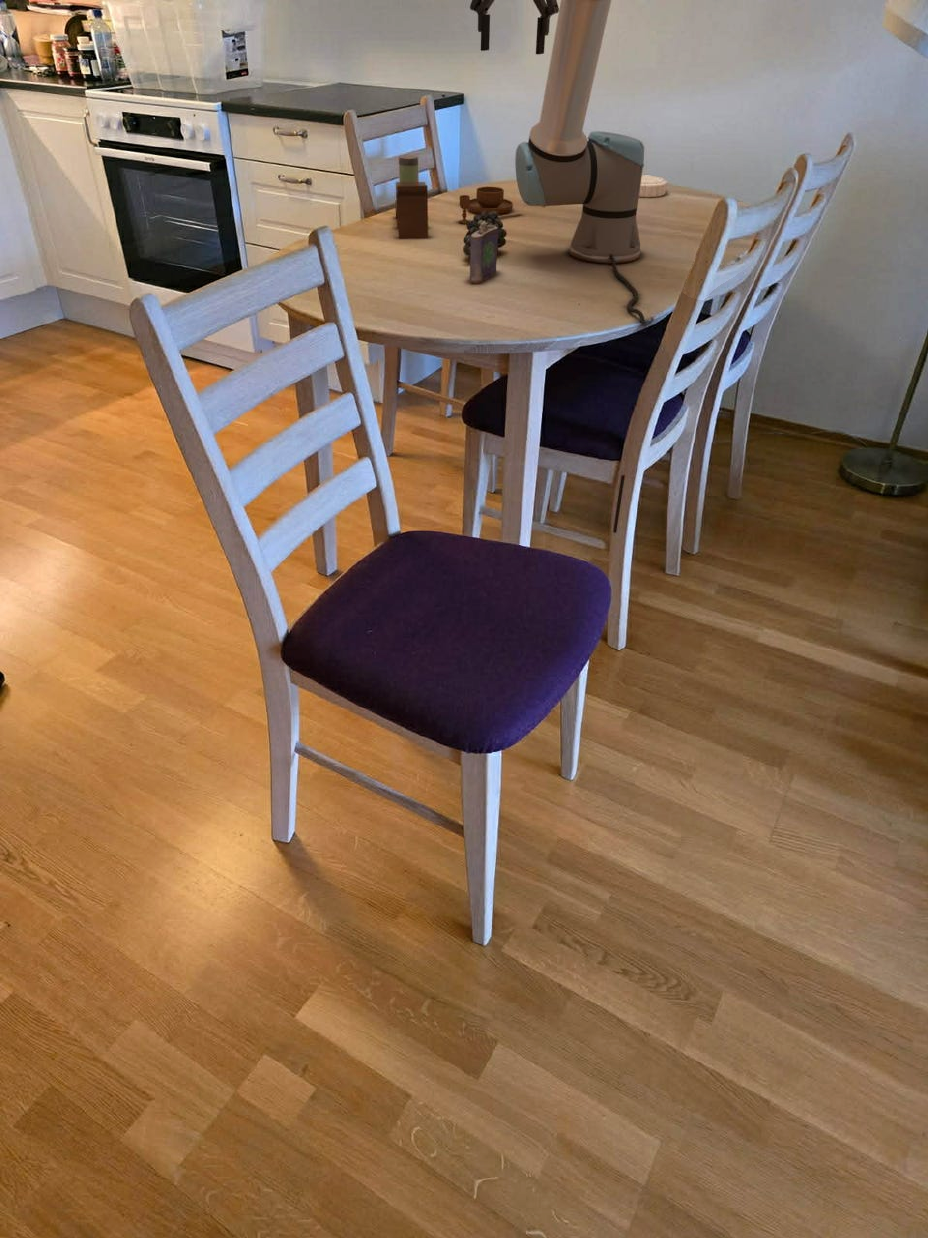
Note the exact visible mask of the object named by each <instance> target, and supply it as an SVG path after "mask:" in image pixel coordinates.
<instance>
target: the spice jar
mask: <svg viewBox="0 0 928 1238" xmlns="http://www.w3.org/2000/svg"><path fill="white" fill-rule="evenodd" d="M397 158H398V159H397V160H398V178H399V179H398V180H399V181H398V182H420V181H419V178H420V177H419V156H418V155H415V154H402V155H398V157H397Z"/></svg>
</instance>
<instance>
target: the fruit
mask: <svg viewBox="0 0 928 1238" xmlns="http://www.w3.org/2000/svg"><path fill="white" fill-rule="evenodd" d="M498 217H500V216H499V214H498V213H497V212H496V211H492V212H490V213H489V212H487V211H483V212H482V214H478V213H475V214H474V215H473V217H472V218H473V219H472V220H469V221H470V222H469V223H467V224H465V225H466V229H467V232H466V234H465V236H463V241H462V242H463V244H464V246H463V247H462V252H463V254H464V255H465V256H467V257H468V258H469V259H470V255H471V235H472V234H473V233H475V232H476V231H478V230H480V229H479V227H480V225H481V224H480V223H481V222H480V223H479V224H478V222H479V221H481V220H483V221H485V222H486V223H488V224H486V226H487V225H491V226H495V227H498V242H497V253H498V252H499V249H501V248H502V247H504V246H505V245H506V243H507V240H506V236H507V235H508V234H507V233H508V232H507V230H506V229H505V228H503V227H504V223H503V221H502V220H501V219H498ZM483 221H482V222H483Z"/></svg>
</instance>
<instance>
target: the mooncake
mask: <svg viewBox="0 0 928 1238" xmlns="http://www.w3.org/2000/svg"><path fill="white" fill-rule="evenodd" d="M667 186H668V181H667V180H666V179H665V178H663V177H660V176H659V177H658V176H655V175H647V174H645V175H644V174H642V177H641V185H640V192H639V198H659V197H662V196H664V195H666V193H667Z"/></svg>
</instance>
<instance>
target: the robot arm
mask: <svg viewBox="0 0 928 1238" xmlns="http://www.w3.org/2000/svg"><path fill="white" fill-rule="evenodd" d="M532 1H533V3H534V6H536V9H537V10H538V12H539V14H540V16H538V17H537V20H536V21H537V22H536V23H537V24H536V25H537V26H536V40H535V55H544V54H545V47H546V46H545V43H546V36H549V33H550V24H551V23H550V22H551V17H552V16H554V15H556V14H558V16H557V21H556V27H555V33H554V37H553V44H552V49H551V54H550V55H551V56H550V60H549V61H550V62H549V66H548V72H547V78H546V84H545V90H544V95H543V100H542V105H541V112H540V118H539V121H538V122H537V123H536V124H534V125H533V126H532V127H531V129H530V131H529V136H528V141H527V142H526V141H523V142H521V143H519V144H518V145H517V147H516V150H515V158H514V159H515V160H514V163H515V179H516V184H517V189H518V192H519V195H520V198H521V200H522V201H523V203H524V204H525V205H527V206H528V207H542V208H546V207H553V206H554V207H555V206H573V205H582V210H581V215H580V219H579V222H578V224H577V226H576V229H575V232H574V234H573V237H572V239H571V241H570V242H571V243H570V247H569V254H570V255H571V256H573V257H574V258H576V259H578V260H582V261H585V262H590V263H597V264H611V265H612V270H613V273H614V275H615V276H616V277H617V278H618V280H620V281H622V283H624V284H625V286H626V287H627V288H628V289H629V290H630V291H631V292H632V293H633V298H631V299H630V300H629V302H628V303H627V305H626V308H627V310H628V312H630V313H634V314H636V315H638V317H639V321H640V324H641V325H645V324H646V321H645V317H644V314H643V313H642V311H641V310H640V309H638V308H635V307H632V305H633V304H635V302H636V301H638V298H639V293H638V290H637V289H636V288H635V287H634V286H633V285H632V284H631V282H629V280H627V279H626V278H625V277H624V276H623V275H621V273H620V272H619V270H618V268H617V264H624V263H629V262H630V263H631V262H633V261H635V260H638V259H639V258H640V255H641V240H640V235H639V234H640V233H639V227H638V222H637V214H638V213H637V212H638V205H639V198H640V197H639V192H640V185H641V177H642V175H643V170H644V167H645V163H644V162H645V161H644V160H645V145H644V143H643V142H642V140H640V139H637V138H635V137H632V136H628V135H625V134H620V133H614V132H609V131H600V130H599V131H598V130H597V131H595V130H594V131H591V132H589V135H588V136H587V135H586V134H585V132H584V131H583V129H584V126H585V120H586V116H587V111H588V106H589V103H590V99H591V93H592V89H593V84H594V80H595V76H596V72H597V67H598V62H599V58H600V53H601V49H602V45H603V39H604V36H605V30H606V27H607V23H608V17H609V13H610V8H611V4H612V0H560V5H559V4H558V1H557V0H532ZM494 2H495V0H471V2H470V4H469V8H470V11H474V12H475V13H477V32H478V33H480V51H481V52H485V51H490V40H491V39H490V37H491V34H490V33H491V14H489V12H488V11H489V9H490V8H491V6H492V5H493V4H494ZM625 477H626V474H621V475H620V482H619V487H618V488H619V489H618V496H617V501H616V509H615V515H614V522H613V529H612V533H614V534H616V533H617V530H618V524H619V517H620V511H621V505H622V498H623V491H624V485H625Z"/></svg>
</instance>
